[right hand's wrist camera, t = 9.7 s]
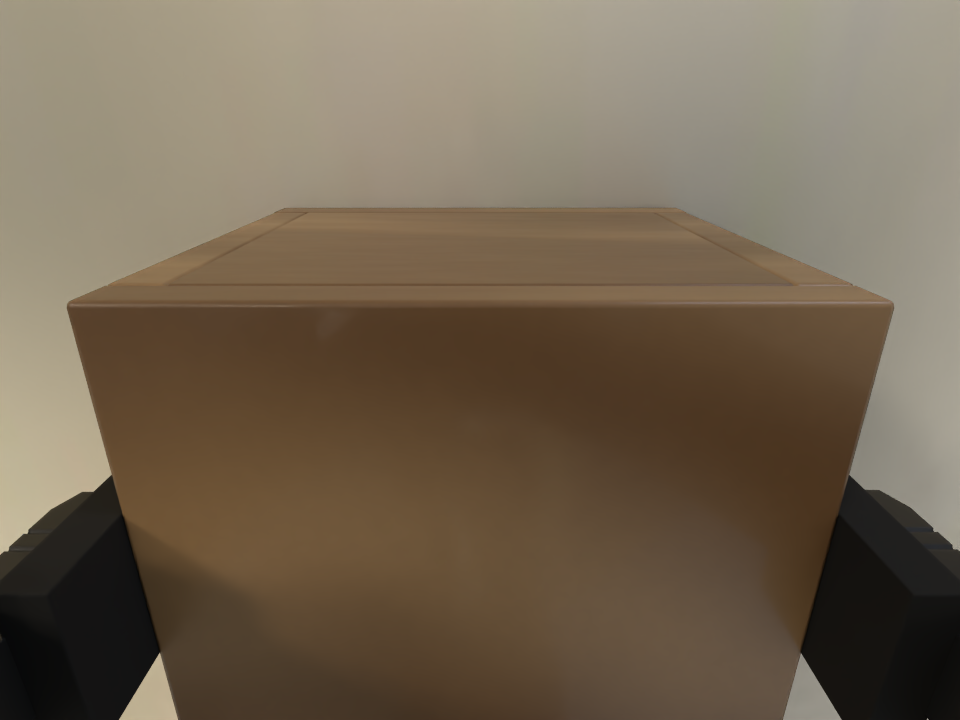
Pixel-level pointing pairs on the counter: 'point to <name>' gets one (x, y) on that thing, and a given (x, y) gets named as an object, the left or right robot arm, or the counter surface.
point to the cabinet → (480, 461)
